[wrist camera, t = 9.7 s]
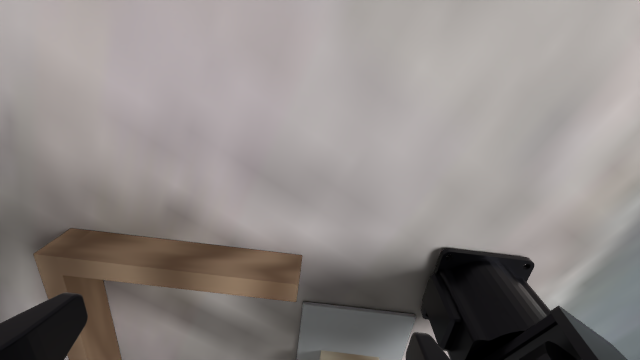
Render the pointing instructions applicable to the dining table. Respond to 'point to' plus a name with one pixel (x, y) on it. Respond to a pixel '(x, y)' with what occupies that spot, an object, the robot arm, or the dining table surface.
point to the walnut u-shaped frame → (154, 275)
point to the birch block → (344, 356)
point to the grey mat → (352, 331)
